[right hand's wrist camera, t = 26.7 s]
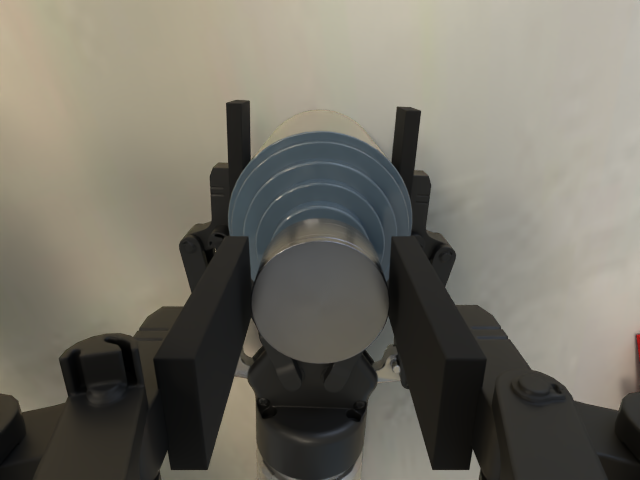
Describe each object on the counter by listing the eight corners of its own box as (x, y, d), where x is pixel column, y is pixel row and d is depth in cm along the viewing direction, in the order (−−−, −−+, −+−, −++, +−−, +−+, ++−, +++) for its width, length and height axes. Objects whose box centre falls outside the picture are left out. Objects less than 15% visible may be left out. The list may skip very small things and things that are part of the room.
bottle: (250, 119, 29) (150, 183, 12) (371, 100, 29) (449, 138, 12) (273, 232, 32) (219, 417, 15) (384, 216, 32) (461, 387, 14)
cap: (321, 192, 14) (322, 210, 12) (405, 276, 15) (418, 307, 13) (234, 274, 14) (221, 304, 13) (318, 347, 16) (318, 386, 14)
